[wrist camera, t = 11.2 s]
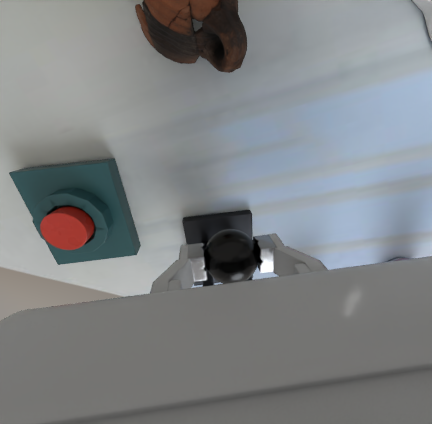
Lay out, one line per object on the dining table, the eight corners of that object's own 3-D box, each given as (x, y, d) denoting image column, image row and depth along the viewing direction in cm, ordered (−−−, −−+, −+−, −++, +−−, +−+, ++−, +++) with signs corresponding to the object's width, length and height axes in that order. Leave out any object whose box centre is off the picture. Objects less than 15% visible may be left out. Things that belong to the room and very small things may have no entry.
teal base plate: (24, 167, 23) (-8, 177, 19) (114, 158, 23) (99, 165, 20) (67, 254, 28) (48, 274, 24) (140, 245, 28) (132, 264, 25)
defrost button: (43, 208, 21) (31, 215, 20) (86, 203, 22) (77, 210, 20) (61, 243, 23) (51, 252, 22) (100, 238, 23) (93, 247, 22)
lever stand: (183, 217, 27) (173, 286, 16) (249, 209, 27) (285, 272, 16) (194, 280, 32) (192, 367, 21) (251, 272, 32) (279, 354, 21)
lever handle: (199, 221, 13) (203, 272, 10) (253, 215, 13) (268, 263, 10) (213, 298, 22) (216, 333, 20) (243, 294, 22) (250, 328, 20)
